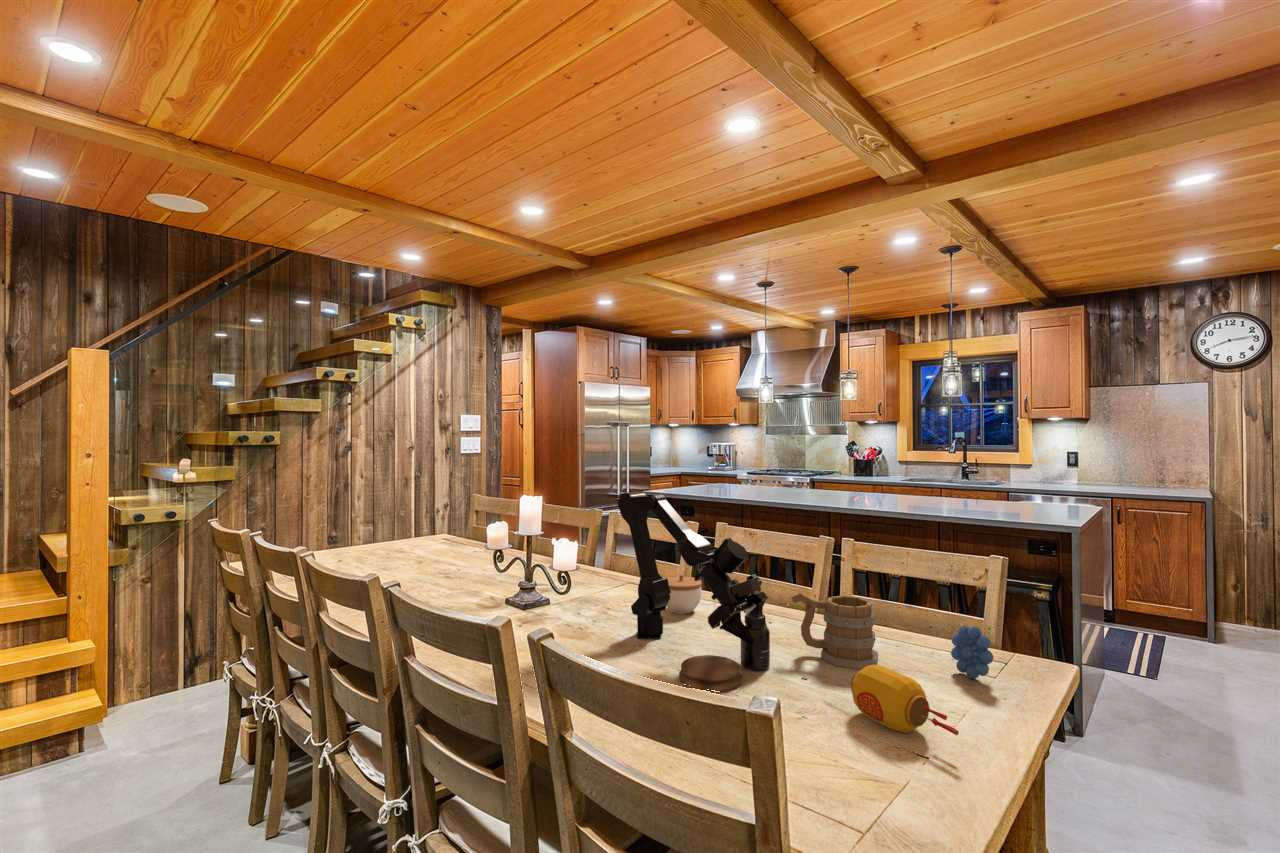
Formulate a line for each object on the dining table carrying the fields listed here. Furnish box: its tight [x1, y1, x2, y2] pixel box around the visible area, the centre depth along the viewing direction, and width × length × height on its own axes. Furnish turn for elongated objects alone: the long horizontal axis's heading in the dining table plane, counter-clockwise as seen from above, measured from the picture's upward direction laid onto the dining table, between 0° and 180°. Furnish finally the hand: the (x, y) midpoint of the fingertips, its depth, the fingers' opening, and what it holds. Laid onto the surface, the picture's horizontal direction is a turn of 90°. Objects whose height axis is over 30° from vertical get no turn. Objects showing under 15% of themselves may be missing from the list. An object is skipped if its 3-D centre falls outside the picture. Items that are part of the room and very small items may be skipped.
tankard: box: [791, 592, 879, 670], centre depth 150 cm, size 20×13×15 cm, turn 65°
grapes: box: [950, 624, 994, 680], centre depth 136 cm, size 12×7×12 cm, turn 13°
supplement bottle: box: [740, 613, 771, 672], centre depth 144 cm, size 7×7×12 cm
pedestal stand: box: [678, 654, 743, 694], centre depth 137 cm, size 14×14×3 cm
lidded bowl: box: [666, 574, 703, 615], centre depth 189 cm, size 13×13×11 cm
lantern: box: [829, 664, 960, 736], centre depth 116 cm, size 10×10×30 cm
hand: (760, 639), depth 143 cm, fingers closed on supplement bottle, 7 cm apart
